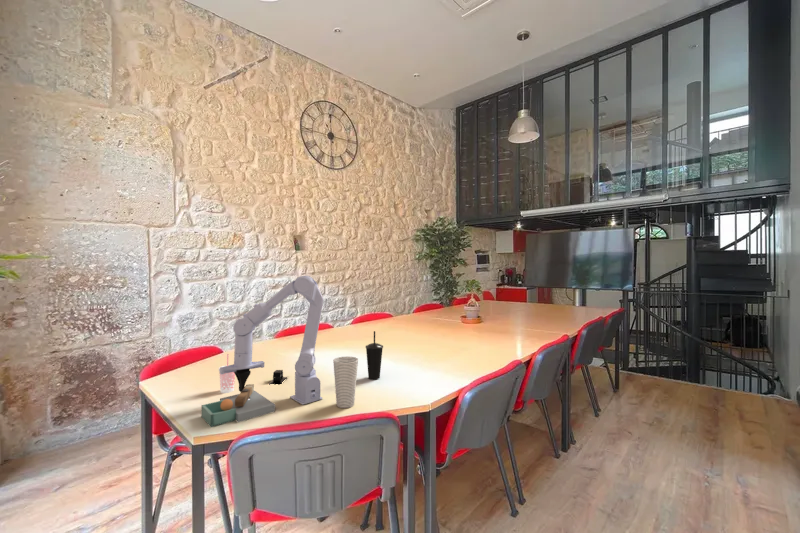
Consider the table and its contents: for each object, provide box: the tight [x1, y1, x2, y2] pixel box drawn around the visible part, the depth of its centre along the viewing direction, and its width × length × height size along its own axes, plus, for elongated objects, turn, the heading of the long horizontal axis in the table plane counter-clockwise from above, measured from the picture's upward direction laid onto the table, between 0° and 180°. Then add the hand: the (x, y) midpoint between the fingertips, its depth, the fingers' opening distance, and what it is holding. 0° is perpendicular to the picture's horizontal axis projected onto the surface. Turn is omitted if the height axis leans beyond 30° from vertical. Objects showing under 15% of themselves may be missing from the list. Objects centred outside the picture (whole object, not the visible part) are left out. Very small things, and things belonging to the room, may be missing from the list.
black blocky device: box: [268, 369, 288, 386], centre depth 142 cm, size 12×7×5 cm, turn 4°
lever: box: [235, 383, 255, 407], centre depth 115 cm, size 14×2×3 cm, turn 11°
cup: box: [333, 356, 359, 409], centre depth 117 cm, size 8×8×16 cm
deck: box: [219, 390, 276, 423], centre depth 114 cm, size 18×12×2 cm, turn 44°
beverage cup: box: [218, 353, 236, 394], centre depth 130 cm, size 6×6×14 cm
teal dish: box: [200, 400, 236, 428], centre depth 106 cm, size 10×7×4 cm
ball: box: [220, 399, 233, 411], centre depth 107 cm, size 4×4×4 cm
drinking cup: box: [365, 331, 384, 381], centre depth 147 cm, size 8×8×20 cm
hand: (241, 391), depth 120 cm, fingers closed, pressing on lever
